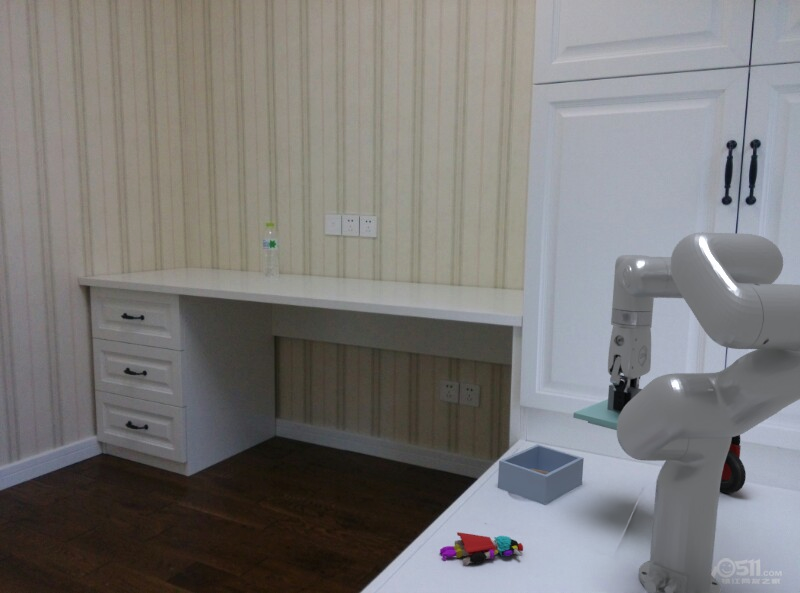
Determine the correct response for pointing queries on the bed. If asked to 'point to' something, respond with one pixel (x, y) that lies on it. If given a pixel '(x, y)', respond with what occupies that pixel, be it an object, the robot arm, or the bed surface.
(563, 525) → the bed surface
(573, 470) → the box
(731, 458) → the headphones
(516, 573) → the bed surface
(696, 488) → the robot arm
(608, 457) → the bed surface
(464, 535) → the toy
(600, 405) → the lid
